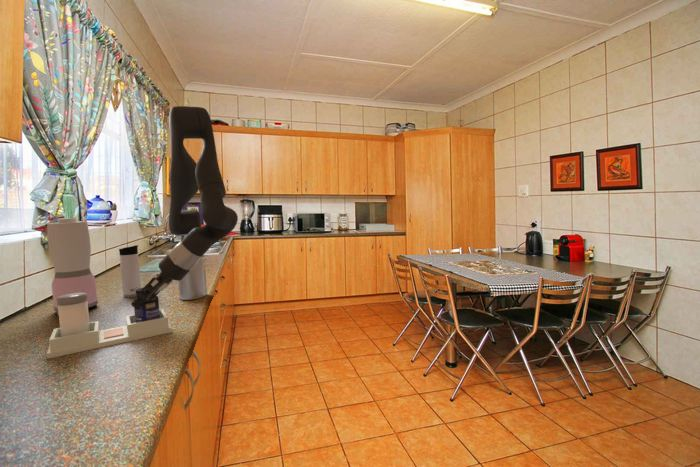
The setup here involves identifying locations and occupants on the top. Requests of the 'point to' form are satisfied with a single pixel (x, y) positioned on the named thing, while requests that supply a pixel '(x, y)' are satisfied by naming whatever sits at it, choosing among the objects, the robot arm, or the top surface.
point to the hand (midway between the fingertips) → (141, 302)
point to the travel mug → (130, 270)
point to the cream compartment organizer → (95, 328)
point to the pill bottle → (147, 308)
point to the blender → (71, 259)
